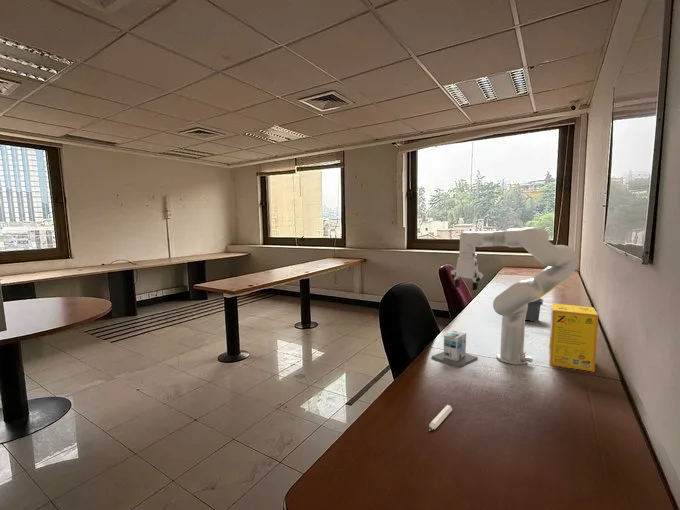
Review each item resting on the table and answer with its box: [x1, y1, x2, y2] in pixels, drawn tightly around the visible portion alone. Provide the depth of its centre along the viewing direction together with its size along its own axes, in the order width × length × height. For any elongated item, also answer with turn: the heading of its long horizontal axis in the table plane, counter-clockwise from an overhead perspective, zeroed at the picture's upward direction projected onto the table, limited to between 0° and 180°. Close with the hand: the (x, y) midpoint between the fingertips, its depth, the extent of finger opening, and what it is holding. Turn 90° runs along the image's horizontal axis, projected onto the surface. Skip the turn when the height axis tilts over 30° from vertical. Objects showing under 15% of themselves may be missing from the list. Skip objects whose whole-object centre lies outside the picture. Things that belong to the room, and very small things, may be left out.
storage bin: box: [525, 298, 544, 322], centre depth 227 cm, size 21×16×14 cm
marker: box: [428, 404, 453, 431], centre depth 107 cm, size 3×2×16 cm
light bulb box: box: [443, 330, 467, 361], centre depth 158 cm, size 11×7×11 cm, turn 139°
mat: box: [431, 351, 479, 369], centre depth 158 cm, size 14×16×1 cm
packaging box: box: [548, 303, 599, 373], centre depth 153 cm, size 16×16×25 cm
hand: (465, 288), depth 175 cm, fingers open, 9 cm apart
